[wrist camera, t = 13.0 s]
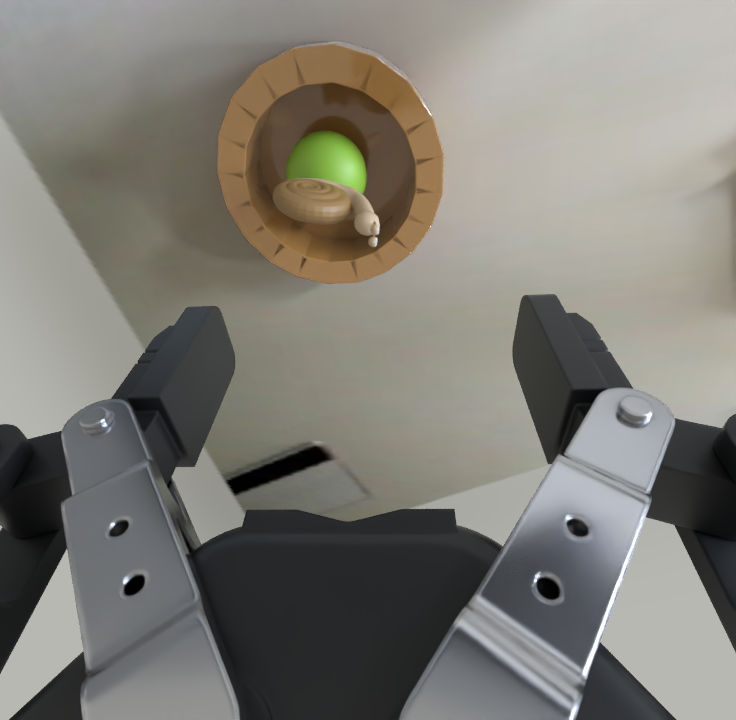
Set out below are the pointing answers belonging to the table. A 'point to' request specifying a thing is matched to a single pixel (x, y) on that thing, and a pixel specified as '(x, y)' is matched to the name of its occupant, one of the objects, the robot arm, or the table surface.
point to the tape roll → (358, 123)
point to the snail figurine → (327, 184)
